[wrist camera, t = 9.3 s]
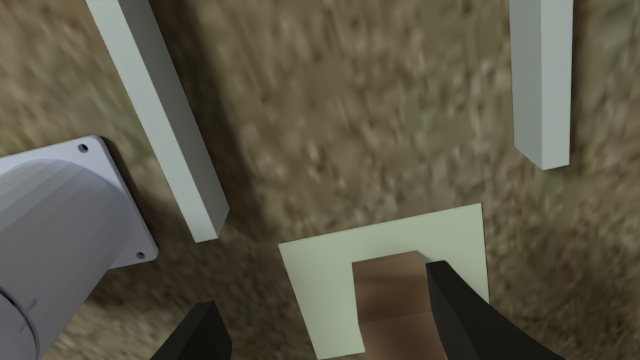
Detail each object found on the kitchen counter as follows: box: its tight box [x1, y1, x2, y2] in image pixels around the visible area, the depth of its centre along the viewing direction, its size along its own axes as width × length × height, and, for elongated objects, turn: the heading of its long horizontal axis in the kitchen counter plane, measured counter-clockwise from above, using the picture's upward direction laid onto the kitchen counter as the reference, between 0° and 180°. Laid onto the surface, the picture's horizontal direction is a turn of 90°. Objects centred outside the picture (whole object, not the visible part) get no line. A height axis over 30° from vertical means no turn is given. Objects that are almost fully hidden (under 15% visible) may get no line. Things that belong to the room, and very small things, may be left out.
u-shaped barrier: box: [86, 0, 573, 243], centre depth 18 cm, size 18×15×3 cm
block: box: [351, 250, 445, 360], centre depth 23 cm, size 4×4×5 cm
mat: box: [278, 203, 489, 360], centre depth 26 cm, size 12×10×1 cm
